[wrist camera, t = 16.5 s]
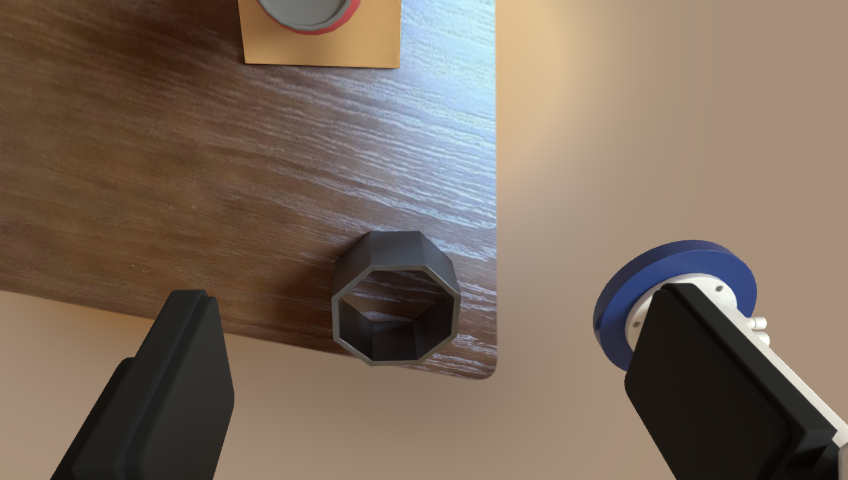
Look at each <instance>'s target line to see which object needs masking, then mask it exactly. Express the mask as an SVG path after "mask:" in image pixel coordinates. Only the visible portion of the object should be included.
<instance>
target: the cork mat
mask: <svg viewBox="0 0 848 480" xmlns="http://www.w3.org/2000/svg"><path fill="white" fill-rule="evenodd" d="M238 5H239V14H240V22H241V31H242V39H243V47H244V56H245V63H254V64H284V65H314V66H344V67H374V68H399V67H400V29H401V0H361V2H360V5H359V7H358V9H357V10H356V11H355V13H354V14H353V15H352V17H351V18H350V20H349V21H348V22H346V23H345V24H343V25H342V26H341V27H339V28H338V29H336V30H335V31H332V32H329V33H325V34H321V35H317V36H316V35H302V34H297V33H295V32H292V31H290V30H288V29H285V28H283V27H281V26H280V25H279V24H277V23H276V22H275V21H274V20H272V19H271V18H270V17H269V16H267V15H266V13H265V12H264V11H263V9H262V8H261V7H260V5H259V4H258V2H257V1H256V0H238Z"/></svg>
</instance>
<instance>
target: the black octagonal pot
mask: <svg viewBox="0 0 848 480" xmlns="http://www.w3.org/2000/svg"><path fill="white" fill-rule="evenodd" d="M408 270H423V271H424V272H425V273H427V274H428V275H429V276H430V277H431V278H432V279H433V280H435V281H436V282H437V283H438V284H439V285H440V286H441V287H443V288H444V290H443V298H442V299H441V300H439V301H438V302H437V303H436V304H434V305H433V306H432V307H431V308H429V309H428V310H427V311H425V312H424V313H423V314H422V315H420V316H419V317H418V318H416V319H415V320H414V321H405V322H371V321H370V320H369V319H367V318H366V317H365V316H363V315H362V314H361V313H360V312H358V311H357V310H356V309H354V308H353V307H352V306H350V305H349V304H348V303H346V302H345V301H344V300H342V296H344V295H345V294H346V293H347V292H348V291H350V290H351V289H352V288H353V287H354V286H355V285H357V284H358V283H359V282H360V281H361V280H363V279H364V278H365V277H366V276H367V275H369V274H370V273H371V272H372V271H408ZM331 302H332V323H333V340H334V341H335V342H337V343H338V344H340V345H341V346H342V347H344V348H345V349H347V350H348V351H349V352H351V353H352V354H354V355H355V356H357V357H358V358H359V359H361V360H362V361H364V362H365V363H366V364H368V365H369V366H393V365H419V364H421V363H422V362H424V361H425V360H426V359H428V358H429V357H430V356H432V355H433V354H435V353H436V352H437V351H439V350H440V349H441V348H443V347H444V346H445V345H447V344H448V343H449V342H451V341H452V340H453V339H455V338H456V337H457V330H458V321H459V312H460V302H461V294H460V290H459V286H458V283H457V279H456V275H455V272H454V268H453V264H452V261H451V260H450V259H449V258H448V257H447V256H446V255H445V254H444V253H443V252H441V251H440V250H439V249H438V248H437V247H436V246H435V245H434V244H433V243H432V242H431V241H430V240H428V239H427V238H426V237H425V236H424V235H423V234H422V233H421V232H419V231H397V232H369V233H368V234H366V235H365V236H364V237H363V238H362V239H361V240H360V241H358V242H357V243H356V244H355V245H354V246H353V247H352V248H350V249H349V250H348V251H347V252H346V253H345V254H344V255H342V256H341V257H340V258H339V259H338V260H337V261H336V262H335V267H334V277H333V287H332V297H331Z"/></svg>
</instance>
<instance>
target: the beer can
mask: <svg viewBox="0 0 848 480" xmlns="http://www.w3.org/2000/svg"><path fill="white" fill-rule="evenodd" d="M256 1H257V2H258V4H259V5H260V7H261V8H262V9H263V11H264V12H265V13H266V15H267V16H269V17H270V18H271V19H272V20H274V21H275V22H276V23H277V24H279V25H280V26H281V27H283V28H285V29H288V30H290V31H292V32H295V33H297V34H302V35H316V36H317V35H321V34H325V33H329V32H332V31H335V30H336V29H338V28H339V27H341V26H342V25H343V24H345V23H346V22H348V21H349V20H350V18H351V17H352V15H353V14H354V13H355V11H356V10H357V9H358V7H359V5H360V2H361V0H256Z"/></svg>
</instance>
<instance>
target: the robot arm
mask: <svg viewBox="0 0 848 480" xmlns="http://www.w3.org/2000/svg"><path fill="white" fill-rule="evenodd" d="M766 325H767V323H766V320H765V318H763V317H749V318H746V317H745V316H744V315H743V314H742V313H741V312H740V311H739V310H738V309H737V302H736V297H735V295H734V293H733V291H732V290H731V289H730V288H729V287H728V286H727V285H726V284H725V283H724V282H723V281H722V280H720V279H719V278H717V277H714V276H712V275H709V274H703V273H689V274H683V275H678V276H675V277H672V278H669V279H667V280H665V281H663V282H661V283H659V284H657V285H656V286H654V287H653V288H651V289H650V290H648V291H647V292H646V293H645V294H644V295H643V296H642V297H641V298H640V299H639V300H638V301H637V302H636V303H635V305H634V306H633V308H632V309H631V311H630V313H629V315H628V318H627V320H626V325H625V336H626V340H627V342H628V344H629V346H630V347H631V349H632V350H633V355H632V358H631V361H630V364H629V367H628V370H627V373H626V376H625V380H624V383H625V384H624V385H625V390H626V393H627V395H628V397H629V399H630V401H631V402H632V404H633V406H634V408H635V409H636V411H637V413H638V414H639V416H640V418H641V420H642V421H643V423H644V425H645V426H646V428H647V430H648V432H649V433H650V435H651V437H652V439H653V440H654V442H655V444H656V445H657V447H658V449H659V450H660V452H661V454H662V456H663V457H664V459H665V461H666V462H667V464H668V466H669V468H670V469H671V471H672V473H673V475H674V476H675V478H676V480H848V425H847V424H846V423H845V422H844V421H843V420H842V419H841V418H840V417H838V416H837V414H835V413H834V412H833V411H832V410H831V409H830V408H829V407H828V406H827V405H826V404H825V403H824V402H823V401H822V400H821V399H820V398H819V397H818V396H817V395H816V394H815V393H814V392H813V391H812V390H811V389H810V388H809V387H808V386H807V385H806V384H805V383H804V382H803V381H802V380H801V379H800V378H799V377H798V376H797V375H796V374H795V373H794V372H793V371H792V370H791V369H790V368H789V367H788V366H787V365H786V364H785V363H784V362H783V361H782V360H781V359H780V358H779V357H778V356H777V355H776V354H775V353H774V352H773V351H772V350H771V349H770V348H769V347H768V346H769V343H770V340H769V337H768V335H767V334H766V333H765V332H753V331H752V330H751V329H765V327H766ZM233 407H234V389H233V385H232V378H231V373H230V368H229V362H228V357H227V352H226V346H225V341H224V336H223V330H222V325H221V319H220V314H219V309H218V303H217V300H216V298H215V297H208V296H207V293H206V291H205V290H174V291H172V293H171V294H170V295H169V297H168V299H167V301H166V302H165V304H164V306H163V308H162V310H161V311H160V313H159V315H158V317H157V318H156V320H155V322H154V324H153V325H152V327H151V329H150V331H149V333H148V334H147V336H146V338H145V340H144V341H143V343H142V345H141V346H140V348H139V350H138V352H137V354H136V355H135V357H130V358H126V359H124V360H122V361H121V363H120V364H119V365H118V367H117V368H116V370H115V372H114V373H113V375H112V377H111V378H110V380H109V382H108V383H107V385H106V387H105V388H104V390H103V392H102V394H101V395H100V397H99V398H98V400H97V402H96V404H95V405H94V407H93V408H92V410H91V412H90V414H89V415H88V417H87V419H86V420H85V422H84V423H83V425H82V427H81V429H80V430H79V432H78V434H77V435H76V437H75V439H74V440H73V442H72V444H71V445H70V447H69V449H68V450H67V452H66V454H65V455H64V457H63V459H62V460H61V462H60V464H59V465H58V467H57V469H56V471H55V472H54V474H53V475H52V477H51V479H50V480H213V477H214V473H215V470H216V466H217V463H218V460H219V456H220V453H221V449H222V446H223V443H224V439H225V435H226V432H227V429H228V425H229V422H230V418H231V415H232V411H233Z"/></svg>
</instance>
